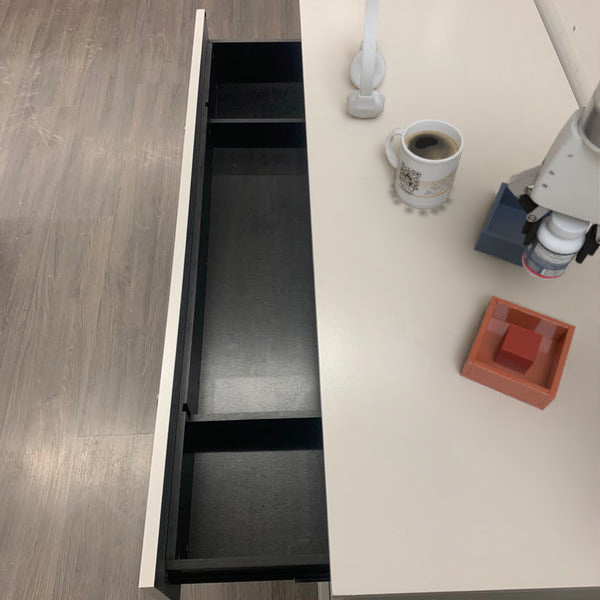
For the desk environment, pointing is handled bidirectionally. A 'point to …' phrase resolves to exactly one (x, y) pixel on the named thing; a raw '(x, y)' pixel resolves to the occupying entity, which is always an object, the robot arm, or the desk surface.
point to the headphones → (367, 70)
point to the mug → (425, 161)
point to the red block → (518, 348)
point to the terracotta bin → (544, 371)
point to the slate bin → (504, 228)
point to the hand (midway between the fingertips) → (554, 244)
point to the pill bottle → (554, 246)
